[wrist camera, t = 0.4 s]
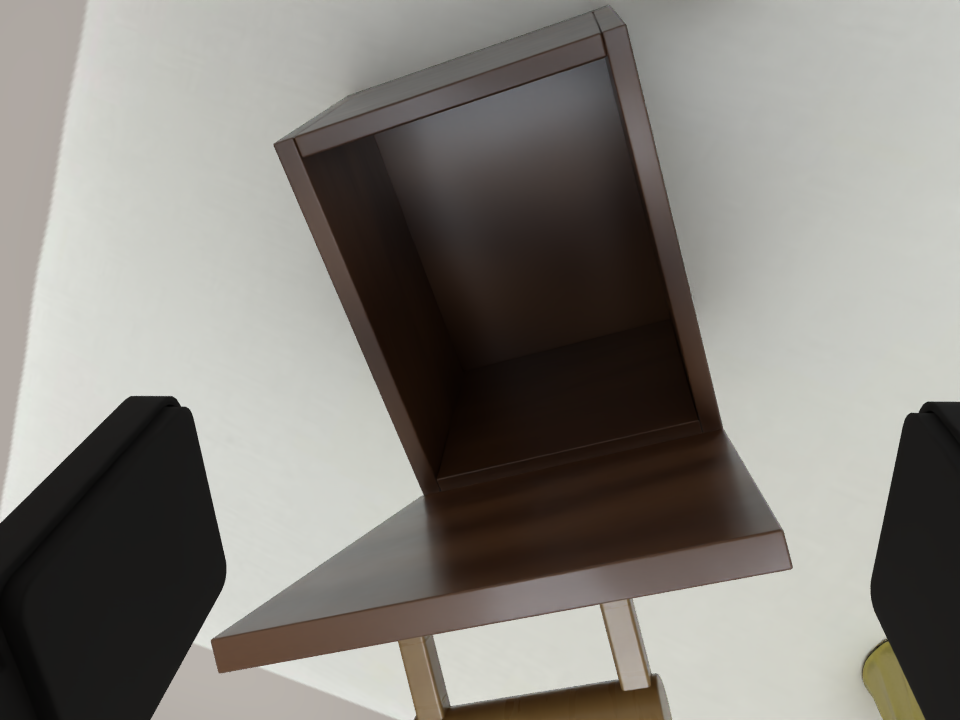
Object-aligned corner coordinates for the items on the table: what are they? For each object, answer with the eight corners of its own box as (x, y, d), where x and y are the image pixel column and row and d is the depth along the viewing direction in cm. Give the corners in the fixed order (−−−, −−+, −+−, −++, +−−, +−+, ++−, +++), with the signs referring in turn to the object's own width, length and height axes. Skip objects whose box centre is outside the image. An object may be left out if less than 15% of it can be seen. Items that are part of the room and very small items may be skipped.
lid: (209, 640, 18) (264, 866, 18) (783, 528, 16) (852, 795, 16) (420, 496, 34) (451, 616, 34) (723, 428, 32) (757, 559, 32)
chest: (346, 96, 38) (272, 144, 29) (610, 4, 36) (626, 23, 26) (455, 380, 44) (424, 498, 35) (688, 321, 42) (724, 432, 32)
